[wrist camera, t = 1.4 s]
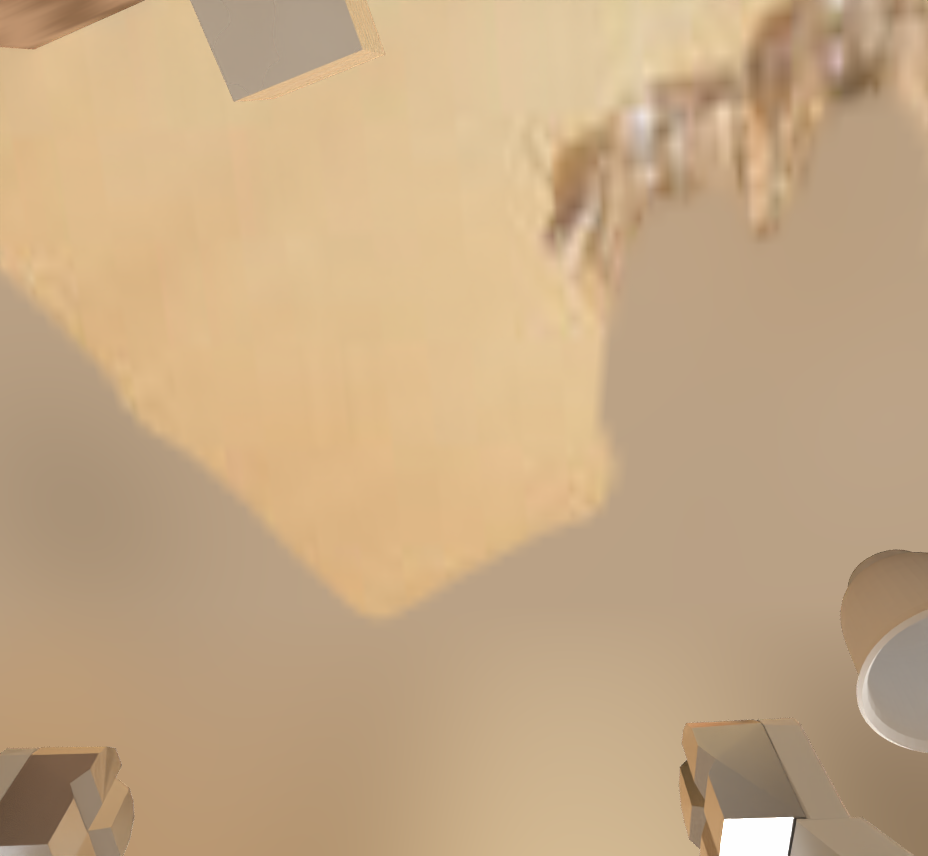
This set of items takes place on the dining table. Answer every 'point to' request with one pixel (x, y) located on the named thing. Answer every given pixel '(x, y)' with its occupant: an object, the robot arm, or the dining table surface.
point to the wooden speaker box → (50, 19)
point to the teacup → (890, 644)
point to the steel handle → (286, 42)
